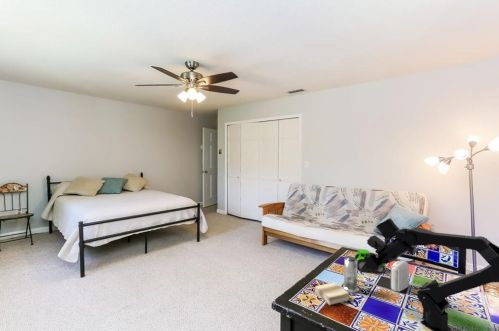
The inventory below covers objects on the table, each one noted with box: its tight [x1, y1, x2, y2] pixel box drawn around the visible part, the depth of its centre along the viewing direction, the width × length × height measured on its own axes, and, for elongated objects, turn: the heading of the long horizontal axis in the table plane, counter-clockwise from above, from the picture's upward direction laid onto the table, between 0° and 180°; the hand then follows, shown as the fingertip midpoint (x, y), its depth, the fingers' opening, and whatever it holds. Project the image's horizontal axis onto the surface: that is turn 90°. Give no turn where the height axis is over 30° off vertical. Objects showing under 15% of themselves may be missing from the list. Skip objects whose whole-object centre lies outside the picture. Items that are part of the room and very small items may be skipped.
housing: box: [342, 255, 360, 294], centre depth 115 cm, size 7×7×14 cm
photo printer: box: [390, 260, 410, 292], centre depth 116 cm, size 10×4×12 cm, turn 123°
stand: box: [314, 281, 350, 306], centre depth 109 cm, size 10×10×3 cm
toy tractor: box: [354, 248, 387, 274], centre depth 135 cm, size 11×16×10 cm
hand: (367, 266), depth 108 cm, fingers open, 9 cm apart
